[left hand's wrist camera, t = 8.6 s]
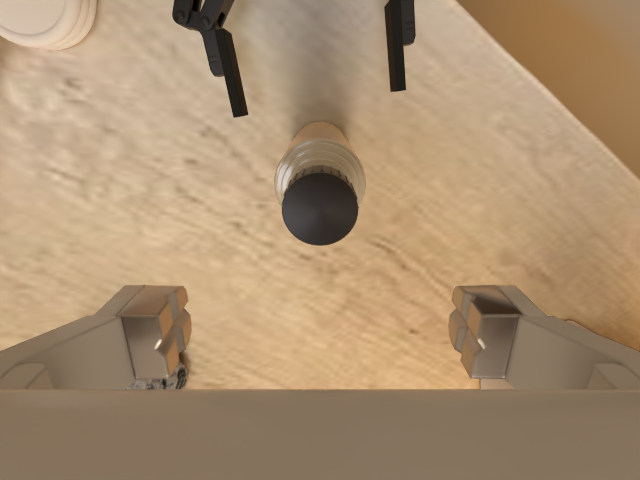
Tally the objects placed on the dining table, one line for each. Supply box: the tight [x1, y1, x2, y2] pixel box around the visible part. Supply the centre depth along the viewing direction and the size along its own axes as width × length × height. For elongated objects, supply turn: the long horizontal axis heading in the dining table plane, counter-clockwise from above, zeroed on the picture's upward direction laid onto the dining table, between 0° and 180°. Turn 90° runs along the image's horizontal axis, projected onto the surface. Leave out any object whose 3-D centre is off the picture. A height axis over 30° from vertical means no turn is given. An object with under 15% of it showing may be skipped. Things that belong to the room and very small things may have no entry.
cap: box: [282, 165, 359, 246], centre depth 20 cm, size 4×4×2 cm
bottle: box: [275, 121, 366, 207], centre depth 29 cm, size 6×6×22 cm
